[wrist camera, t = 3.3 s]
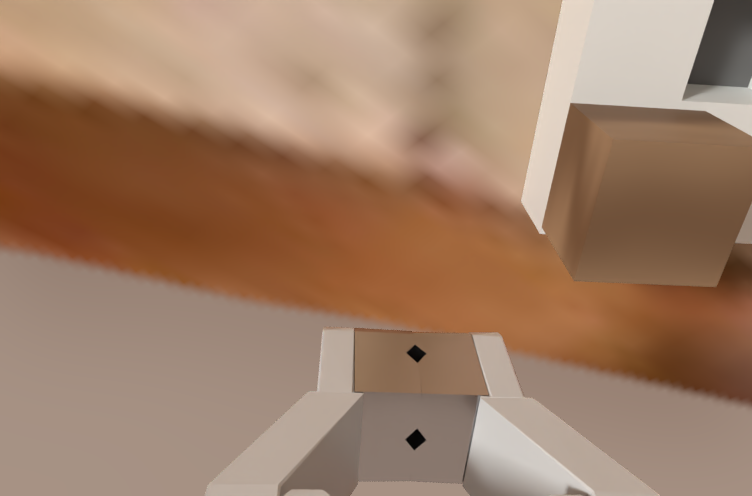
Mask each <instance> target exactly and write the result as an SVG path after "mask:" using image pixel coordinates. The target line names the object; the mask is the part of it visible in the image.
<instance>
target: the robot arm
mask: <svg viewBox="0 0 752 496" xmlns="http://www.w3.org/2000/svg"><path fill="white" fill-rule="evenodd" d="M358 481H417V482H438V483H458V484H463V487H464V488H465V490H466V491H467V492H468V493H469V495H470V496H660V494H658V493H657V492H656V491H654V490H653V489H652V488H650V487H649V486H648V485H647V484H645V483H644V482H643V481H641V480H640V479H639V478H637V477H636V476H635V475H633V474H632V473H631V472H630V471H628V470H627V469H626V468H624V467H623V466H622V465H620V464H619V463H618V462H616V461H615V460H614V459H612V458H611V457H610V456H609V455H607V454H606V453H605V452H603V451H602V450H601V449H599V448H598V447H597V446H595V445H594V444H593V443H592V442H590V441H589V440H588V439H586V438H585V437H584V436H582V435H581V434H580V433H579V432H577V431H576V430H575V429H573V428H572V427H571V426H569V425H568V424H567V423H565V422H564V421H563V420H562V419H560V418H559V417H558V416H556V415H555V414H554V413H552V412H551V411H550V410H548V409H547V408H546V407H545V406H543V405H542V404H541V403H539V402H538V401H537V400H535V399H534V398H525V397H524V394H523V392H522V389H521V387H520V384H519V381H518V379H517V376H516V373H515V370H514V368H513V365H512V362H511V359H510V357H509V354H508V351H507V349H506V346H505V343H504V341H503V338H502V336H501V335H500V334H499V333H477V332H469V333H438V332H412V331H400V330H382V329H365V328H354V330H353V328H344V327H324V329H323V331H322V343H321V354H320V366H319V377H318V388H317V392H316V391H309V392H307V393H306V394H305V395H304V396H303V397H302V398H301V399H300V400H298V402H296V403H295V404H294V405H293V406H292V407H291V408H290V409H289V410H288V411H287V412H286V413H285V414H283V415H282V416H281V417H280V418H279V419H278V420H277V421H276V422H275V423H274V424H273V425H272V426H271V427H269V428H268V429H267V430H266V431H265V432H264V433H263V434H262V435H261V436H260V437H259V438H258V439H257V440H255V441H254V442H253V443H252V444H251V445H250V446H249V447H248V448H247V449H246V450H245V451H244V452H243V453H241V454H240V455H239V456H238V457H237V458H236V459H235V460H234V461H233V462H232V463H231V464H230V465H229V466H227V467H226V468H225V469H224V470H223V471H222V472H221V473H220V474H219V475H218V476H217V477H216V478H215V479H214V480H212V481H211V482H210V483H209V484H208V486H207V490H206V494H205V496H350V495H351V494H352V492H353V491H354V489H355V487H356V486H357V484H358Z"/></svg>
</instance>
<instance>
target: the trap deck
mask: <svg viewBox="0 0 752 496" xmlns="http://www.w3.org/2000/svg"><path fill="white" fill-rule="evenodd" d="M570 103H581V104H598V105H615V106H631V107H648V108H665V109H681V110H698V111H706V112H708V113H710V114H712V115H714V116H716V117H718V118H719V119H721V120H723V121H725V122H727V123H729V124H730V125H732V126H734V127H736V128H738V129H740V130H741V131H743V132H745V133H747V134H749V135H751V136H752V0H563V1H562V6H561V11H560V15H559V20H558V25H557V30H556V35H555V40H554V44H553V49H552V54H551V59H550V64H549V69H548V73H547V78H546V83H545V88H544V93H543V98H542V102H541V107H540V112H539V117H538V122H537V127H536V131H535V136H534V141H533V146H532V151H531V156H530V160H529V165H528V170H527V175H526V180H525V185H524V189H523V194H522V199H521V202H522V204H523V206H524V207H525V209H526V211H527V212H528V214H529V216H530V218H531V219H532V221H533V223H534V224H535V226H536V228H537V230H538V231H539V233H540V234H545V232H544V230H543V229H542V223H543V219H544V215H545V210H546V206H547V202H548V197H549V193H550V189H551V184H552V180H553V176H554V171H555V167H556V163H557V158H558V154H559V150H560V145H561V141H562V137H563V132H564V128H565V124H566V119H567V115H568V111H569V107H570ZM735 243H743V244H752V203H751V206H750V208H749V210H748V213H747V215H746V217H745V220H744V222H743V225H742V227H741V229H740V232H739V234H738V236H737V239H736V241H735Z"/></svg>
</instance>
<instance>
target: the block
mask: <svg viewBox="0 0 752 496" xmlns="http://www.w3.org/2000/svg"><path fill="white" fill-rule="evenodd" d="M751 203H752V136H751V135H749V134H747V133H745V132H743V131H741V130H740V129H738V128H736V127H734V126H732V125H730V124H729V123H727V122H725V121H723V120H721V119H719V118H718V117H716V116H714V115H712V114H710V113H708V112H706V111H698V110H681V109H665V108H648V107H631V106H615V105H598V104H581V103H570V107H569V111H568V115H567V119H566V124H565V128H564V132H563V137H562V141H561V145H560V150H559V154H558V158H557V163H556V167H555V171H554V176H553V180H552V184H551V189H550V193H549V197H548V202H547V206H546V210H545V215H544V219H543V223H542V229H543V230H544V232H545V234H546V235H547V237H548V239H549V240H550V242H551V244H552V245H553V247H554V249H555V250H556V252H557V254H558V255H559V257H560V259H561V260H562V262H563V264H564V265H565V267H566V269H567V270H568V272H569V274H570V275H571V277H572V279H573V280H574V281H584V282H608V283H631V284H655V285H678V286H701V287H716V286H717V284H718V282H719V279H720V277H721V275H722V272H723V270H724V267H725V265H726V263H727V260H728V258H729V255H730V253H731V251H732V248H733V246H734V244H735V241H736V239H737V236H738V234H739V232H740V229H741V227H742V225H743V222H744V220H745V217H746V215H747V213H748V210H749V208H750V206H751Z"/></svg>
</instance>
